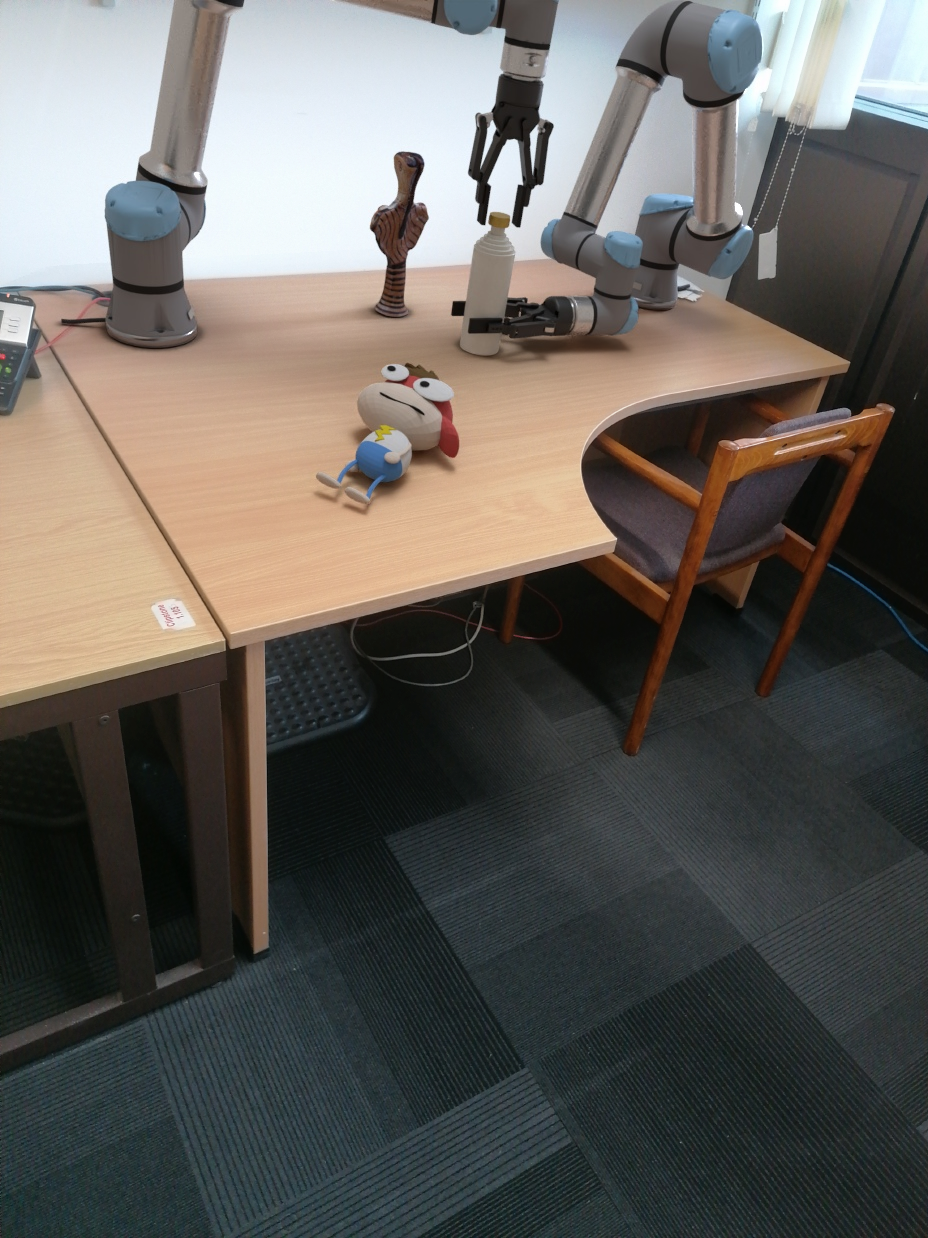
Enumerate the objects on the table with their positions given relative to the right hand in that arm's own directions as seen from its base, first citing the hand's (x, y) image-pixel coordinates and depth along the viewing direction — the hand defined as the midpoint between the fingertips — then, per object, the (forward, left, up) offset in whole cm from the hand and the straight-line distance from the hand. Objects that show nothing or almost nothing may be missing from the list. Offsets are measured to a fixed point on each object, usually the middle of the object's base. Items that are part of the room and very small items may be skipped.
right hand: (461, 316), depth 168 cm
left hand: (-4, +2, +17) cm, 18 cm away
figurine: (-2, -19, -6) cm, 21 cm away
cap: (-4, +2, +18) cm, 19 cm away
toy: (+42, +24, -6) cm, 49 cm away
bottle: (-4, +2, -6) cm, 8 cm away
